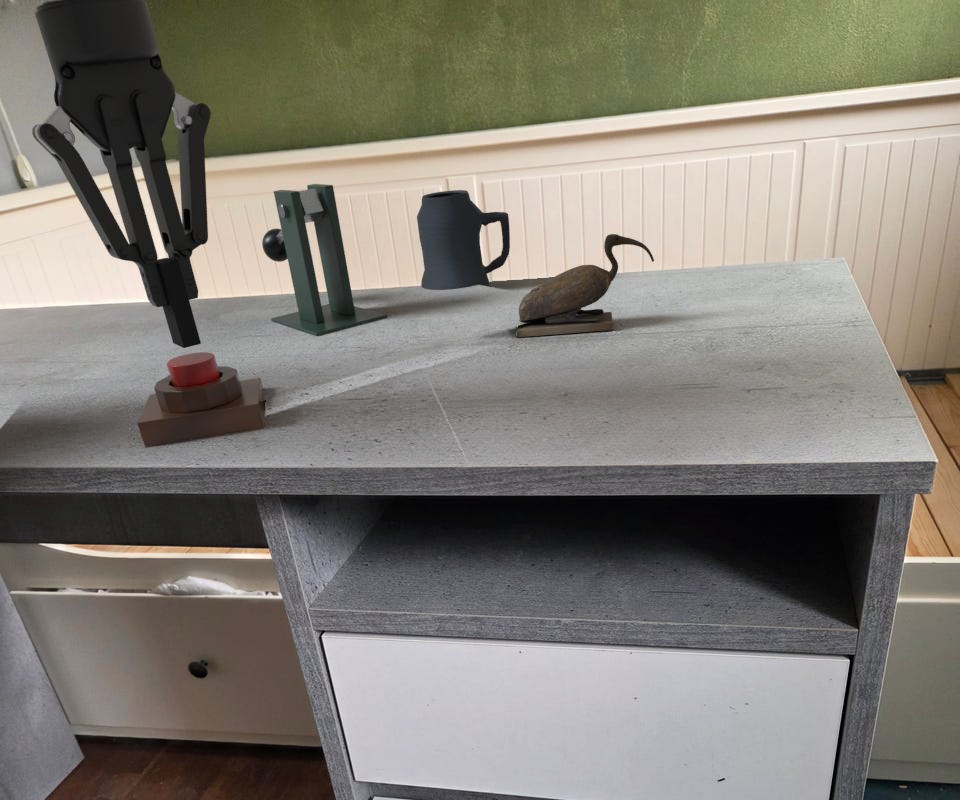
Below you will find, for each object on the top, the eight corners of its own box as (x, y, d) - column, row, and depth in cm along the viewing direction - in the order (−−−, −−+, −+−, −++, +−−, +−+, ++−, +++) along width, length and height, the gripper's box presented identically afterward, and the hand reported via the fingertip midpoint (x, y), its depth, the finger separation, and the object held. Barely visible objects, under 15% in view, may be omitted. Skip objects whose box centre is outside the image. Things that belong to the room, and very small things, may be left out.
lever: (265, 268, 105) (254, 238, 105) (292, 262, 107) (281, 233, 106) (301, 221, 93) (289, 186, 92) (331, 215, 95) (319, 181, 94)
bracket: (273, 331, 104) (242, 193, 96) (340, 314, 108) (315, 180, 100) (319, 347, 96) (288, 197, 87) (389, 328, 100) (366, 182, 91)
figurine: (652, 316, 92) (653, 226, 87) (654, 327, 88) (655, 234, 83) (519, 326, 94) (513, 239, 89) (516, 338, 90) (509, 247, 86)
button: (171, 393, 74) (163, 369, 72) (176, 380, 77) (169, 356, 76) (219, 385, 74) (212, 361, 73) (222, 373, 77) (215, 349, 76)
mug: (416, 302, 109) (402, 203, 103) (424, 286, 116) (412, 192, 110) (512, 294, 107) (504, 192, 101) (514, 278, 115) (507, 182, 109)
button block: (145, 448, 74) (129, 401, 71) (156, 418, 80) (143, 374, 78) (264, 428, 75) (252, 382, 72) (266, 400, 81) (255, 357, 79)
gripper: (162, -3, 66) (241, 319, 79) (-21, 11, 60) (97, 355, 73) (196, -16, 61) (276, 331, 74) (0, -3, 55) (123, 371, 68)
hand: (186, 343), depth 74 cm, fingers closed
